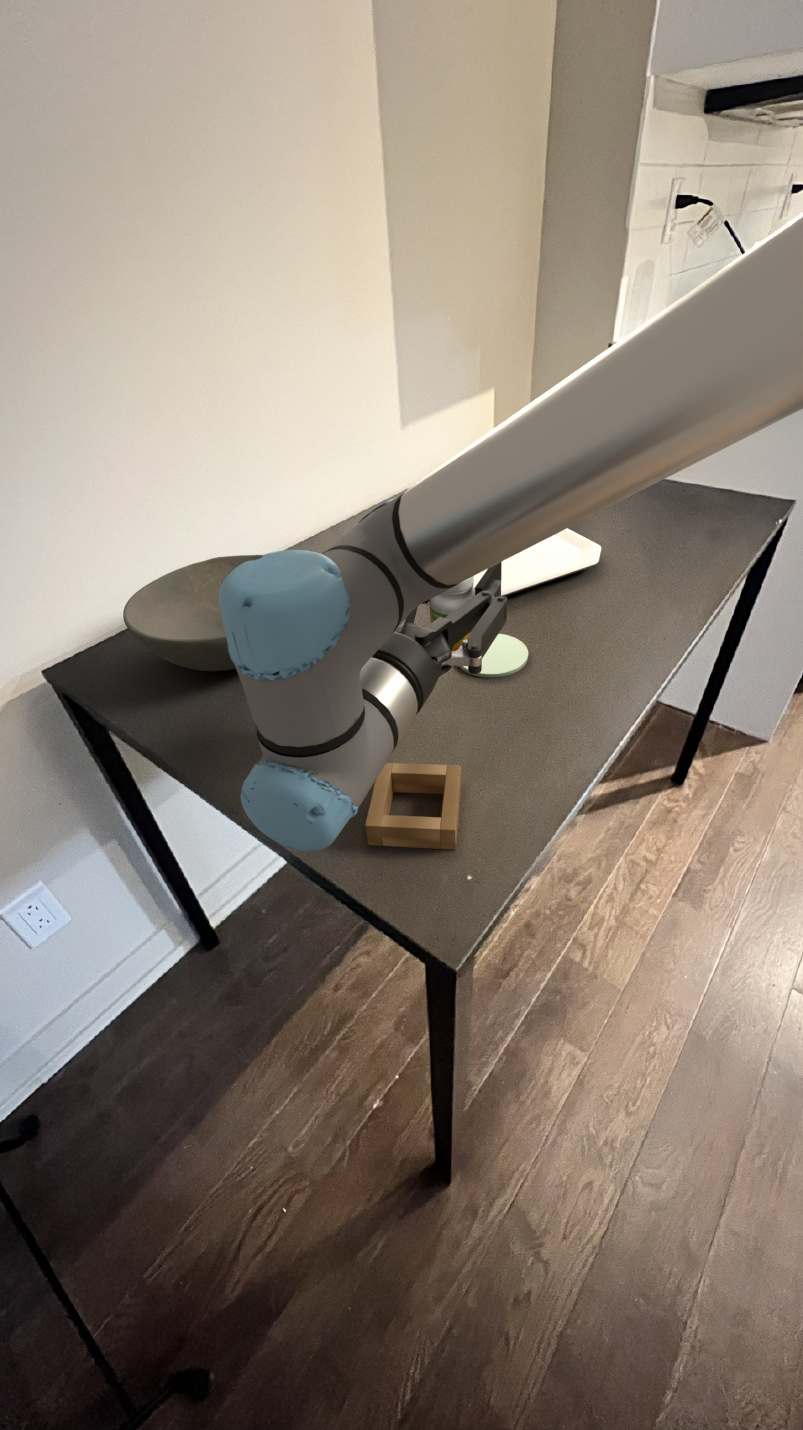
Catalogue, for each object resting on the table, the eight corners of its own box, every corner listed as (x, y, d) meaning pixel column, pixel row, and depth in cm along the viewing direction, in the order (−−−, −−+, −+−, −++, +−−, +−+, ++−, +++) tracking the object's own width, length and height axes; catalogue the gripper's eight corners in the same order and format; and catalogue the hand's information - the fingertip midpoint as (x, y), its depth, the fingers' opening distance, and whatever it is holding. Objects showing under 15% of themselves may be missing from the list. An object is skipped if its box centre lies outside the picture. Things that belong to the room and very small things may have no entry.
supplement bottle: (425, 662, 69) (419, 582, 62) (441, 636, 72) (437, 559, 66) (473, 669, 67) (472, 588, 61) (486, 642, 71) (486, 563, 64)
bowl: (110, 671, 91) (82, 611, 85) (239, 591, 107) (224, 536, 101) (234, 727, 79) (212, 662, 72) (360, 627, 95) (351, 567, 88)
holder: (461, 784, 68) (461, 765, 66) (456, 850, 61) (455, 830, 59) (382, 781, 69) (379, 762, 67) (368, 845, 62) (364, 825, 61)
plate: (618, 566, 102) (620, 554, 101) (466, 618, 94) (466, 605, 93) (517, 512, 123) (518, 501, 122) (385, 550, 115) (384, 539, 113)
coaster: (527, 636, 89) (527, 633, 89) (529, 678, 81) (529, 674, 81) (457, 636, 90) (457, 633, 90) (452, 677, 83) (452, 673, 83)
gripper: (295, 704, 58) (398, 587, 74) (484, 747, 51) (552, 609, 67) (278, 636, 53) (391, 527, 69) (484, 673, 47) (557, 543, 62)
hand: (471, 567), depth 68 cm, fingers closed on supplement bottle, 5 cm apart
